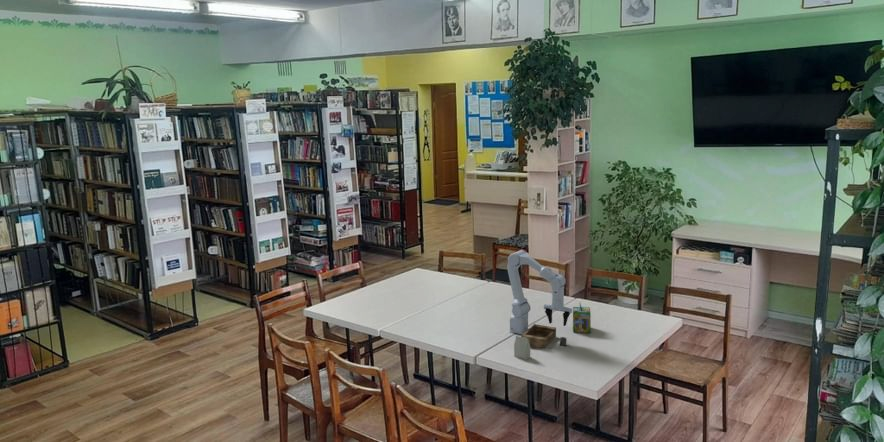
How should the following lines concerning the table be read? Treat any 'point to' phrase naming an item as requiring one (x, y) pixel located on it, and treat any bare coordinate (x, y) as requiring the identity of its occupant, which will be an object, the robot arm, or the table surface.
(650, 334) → the table surface
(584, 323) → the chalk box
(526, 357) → the grey upright block
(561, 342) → the lid
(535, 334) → the box
